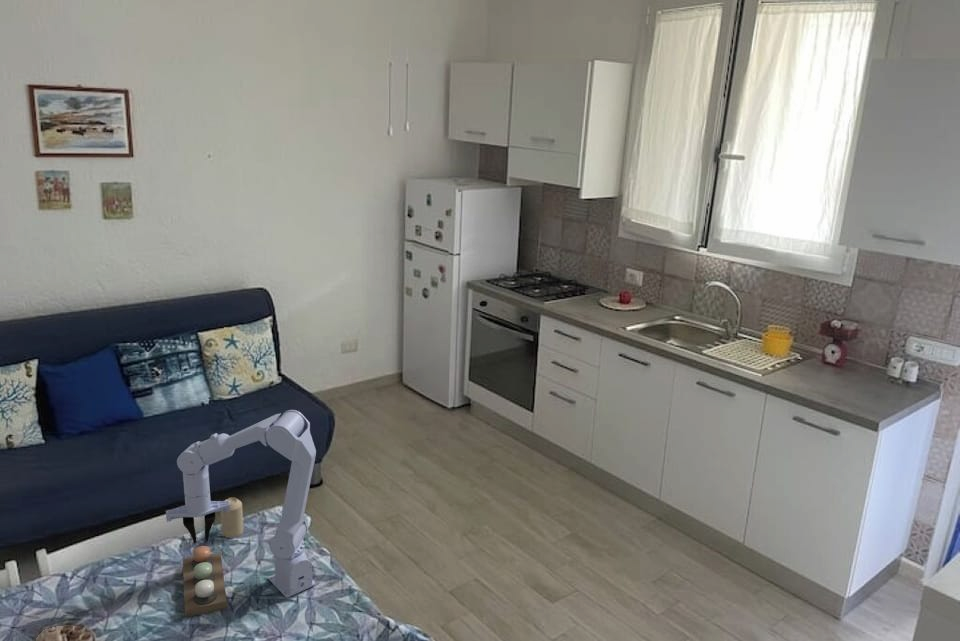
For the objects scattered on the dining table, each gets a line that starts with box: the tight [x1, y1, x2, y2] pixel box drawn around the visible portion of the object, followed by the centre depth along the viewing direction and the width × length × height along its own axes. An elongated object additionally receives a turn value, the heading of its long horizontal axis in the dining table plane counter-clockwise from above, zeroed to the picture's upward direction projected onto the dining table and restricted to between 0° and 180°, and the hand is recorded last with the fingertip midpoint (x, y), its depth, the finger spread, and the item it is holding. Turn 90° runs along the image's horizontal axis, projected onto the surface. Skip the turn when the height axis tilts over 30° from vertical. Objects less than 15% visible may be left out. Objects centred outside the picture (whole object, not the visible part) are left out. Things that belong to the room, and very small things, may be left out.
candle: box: [220, 496, 244, 539], centre depth 194 cm, size 6×6×10 cm
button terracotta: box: [192, 545, 212, 562], centre depth 178 cm, size 4×4×2 cm
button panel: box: [182, 551, 228, 618], centre depth 173 cm, size 20×9×2 cm, turn 23°
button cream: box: [195, 580, 214, 597], centre depth 166 cm, size 4×4×2 cm
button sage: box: [194, 562, 212, 579], centre depth 172 cm, size 4×4×2 cm
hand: (200, 540), depth 177 cm, fingers open, 2 cm apart
